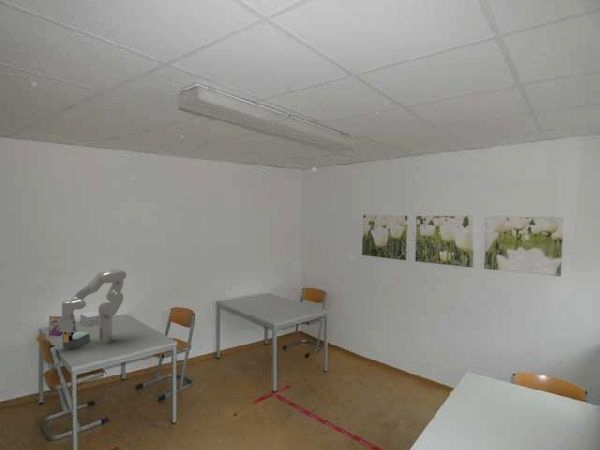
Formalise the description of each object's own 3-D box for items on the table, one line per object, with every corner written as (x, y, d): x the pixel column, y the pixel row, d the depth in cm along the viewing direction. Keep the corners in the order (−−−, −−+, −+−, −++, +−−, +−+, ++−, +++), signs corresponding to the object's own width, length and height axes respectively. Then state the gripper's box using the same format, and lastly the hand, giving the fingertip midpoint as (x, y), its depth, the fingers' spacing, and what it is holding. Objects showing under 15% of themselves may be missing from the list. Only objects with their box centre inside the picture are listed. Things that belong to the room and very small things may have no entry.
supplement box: (102, 324, 336) (102, 314, 336) (87, 327, 326) (87, 317, 326) (94, 320, 347) (95, 310, 346) (80, 323, 336) (80, 313, 336)
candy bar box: (48, 334, 303) (48, 315, 302) (53, 332, 308) (53, 314, 307) (60, 335, 302) (60, 316, 301) (65, 333, 307) (65, 315, 306)
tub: (76, 341, 291) (76, 333, 291) (89, 341, 291) (89, 334, 290) (62, 348, 275) (63, 340, 275) (76, 349, 275) (76, 341, 274)
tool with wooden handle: (77, 333, 291) (77, 325, 291) (89, 334, 290) (89, 326, 290) (59, 343, 270) (59, 334, 270) (72, 343, 270) (72, 334, 270)
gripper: (81, 316, 275) (81, 339, 275) (60, 315, 275) (60, 338, 276) (74, 318, 267) (74, 342, 268) (53, 318, 268) (53, 341, 269)
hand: (67, 340), depth 272 cm, fingers closed on tool with wooden handle, 4 cm apart
